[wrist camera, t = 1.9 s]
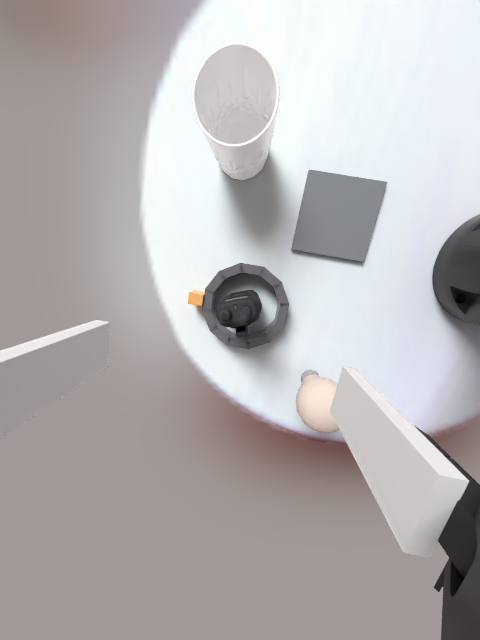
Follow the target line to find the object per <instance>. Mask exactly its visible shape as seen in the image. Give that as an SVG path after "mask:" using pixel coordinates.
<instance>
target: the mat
mask: <svg viewBox="0 0 480 640" xmlns="http://www.w3.org/2000/svg"><path fill="white" fill-rule="evenodd" d="M386 184H387V182H384V181H377V180H371V179H365V178H358V177H352V176H346V175H340V174H333V173H327V172H321V171H315V170H309V171H308V175H307V180H306V185H305V189H304V194H303V198H302V203H301V208H300V212H299V217H298V222H297V226H296V231H295V236H294V240H293V245H292V249H291V250H296V251H302V252H308V253H314V254H319V255H325V256H331V257H337V258H342V259H348V260H354V261H360V262H364V260H365V256H366V253H367V250H368V246H369V243H370V239H371V236H372V232H373V229H374V225H375V222H376V219H377V215H378V212H379V208H380V205H381V201H382V198H383V195H384V191H385V188H386Z"/></svg>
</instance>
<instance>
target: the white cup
mask: <svg viewBox="0 0 480 640" xmlns="http://www.w3.org/2000/svg"><path fill="white" fill-rule="evenodd" d="M279 95H280V91H279V81H278V77H277V74H276V71H275V69H274V66H273V65H272V63H271V61H270V60H269V58H268V57H267V56H266V55H265V54H264V53H263V52H262V51H261V50H259V49H258V48H256V47H254V46H252V45H250V44H246V43H239V42H236V43H229V44H226V45H223V46H221V47H219V48H217V49H216V50H214V51H213V52H212V53H211V54H209V55H208V57H207V58H206V59H205V60H204V61H203V63H202V64H201V66H200V68H199V70H198V72H197V74H196V77H195V80H194V84H193V90H192V104H193V110H194V114H195V117H196V120H197V122H198V124H199V126H200V128H201V130H202V132H203V134H204V136H205V138H206V140H207V142H208V144H209V146H210V148H211V150H212V152H213V154H214V156H215V158H216V159H217V161H218V162H219V163H220V165H221V168H222V170H223V171H224V172H225V173H226V174H228V175H229V176H230V177H231V178H234V179H239V180H246V179H249V178H252V177H254V176H255V175H256V174H258V173H259V172H260V171H261V170H262V169H263V167H264V164H265V162H266V160H267V157H268V152H269V149H270V145H271V140H272V136H273V131H274V126H275V120H276V115H277V109H278V104H279Z"/></svg>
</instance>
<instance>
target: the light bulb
mask: <svg viewBox="0 0 480 640" xmlns="http://www.w3.org/2000/svg"><path fill="white" fill-rule="evenodd" d="M301 381H302V386H301V387H300V388H299V390H298V393H297V396H296V407H297V412H298V413H299V415H300V417H301V418H302V420H303V422H304V423H305V424H306V425H307V426H309V427H310V428H312V429H314V430H317V431H320V432H324V433H329V432H336V431H337V430H339V427H338V425H337V423H336V421H335V419H334V418H333V416H332V414H331V412H330V408H331V405H332V402H333V398H334V395H335V392H336V388H337V385H338V384H337V383H336V382H334V381H333V380H331V379H327V378H323V377H320V376H319V375H318V374H317V373H316V372H315V371H312V370H307V371H305V372H304V373H303V374H302V377H301Z"/></svg>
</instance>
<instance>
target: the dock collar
mask: <svg viewBox="0 0 480 640" xmlns="http://www.w3.org/2000/svg"><path fill="white" fill-rule="evenodd" d="M242 272H243V273H248V274H254V275H260V276H261V277H262V278H263V279H265V280H266V281H267V282H268V283H269V284H270V285H272V286H273V288H274V291H275V294H276V297H277V300H278V306H277V311H276V316H275V319H274V320H273V321H272V322H271V324H270V325H269V326H268V327H267V328H266V329H265V330H264V331H262V332H259V333H256V334H253V335H250V336H246V337H241V338H238V337H236V334H235V333H232V332H231V331H229V330H228V329H227V328H226V327H225V326H222V325H221V324H220V322H219V321H218V319H217V317H216V313H215V309H214V304H215V297H216V291H217V290H218V288H219V287H220V286H221V285H222V283H223V282H224V281H225V280H226V279H227V278H228V277H231V276H234V275H236V274H239V273H242ZM188 304H193V305H198V306H203V309H202V312H203V314H204V317H205V319H206V322H207V324H208V327H209V329H210V331H211V332H212V333H213V334H214V335H216V336H217V337H218V338H219V339H220V340H222V341H223V342H224V343H225V344H227V345H230V346H235V347H241V348H246V349H250V348H253V347H256V346H259V345H262V344H265V343H269V342H270V341H271V340H272V339H273V338H274V336H275V335H276V334H277V333H278V332H279V331H280V330H281V329H282V328H283V327H284V324H285V320H286V315H287V311H288V306H289V303H288V300H287V297H286V294H285V291H284V288H283V285H282V282H281V281H280V280H278V279H277V278H276V277H275V276H274V275H273V274H271V273H270V272H269V271H268V270H267V269H266V268H265V267H261V266H255V265H250V264H244V263H239V264H237V265H234V266H232V267H229V268H226V269H224V270H221V271H219V272H218V273H217V275H216V276H215V277H214V278H213V280H212V281H211V282H210V284H209V285H208V286H207V287H206V289H205V292H201V291H196V290H195V291H192V292H189V298H188Z"/></svg>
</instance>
